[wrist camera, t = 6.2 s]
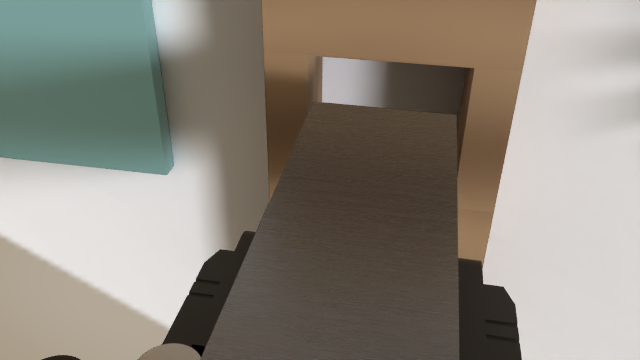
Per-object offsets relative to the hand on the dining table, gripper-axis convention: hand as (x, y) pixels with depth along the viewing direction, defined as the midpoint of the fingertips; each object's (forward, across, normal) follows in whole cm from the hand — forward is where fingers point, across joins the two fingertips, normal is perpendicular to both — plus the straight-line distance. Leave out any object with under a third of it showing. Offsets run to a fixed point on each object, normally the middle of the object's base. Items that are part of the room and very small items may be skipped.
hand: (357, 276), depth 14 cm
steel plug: (+5, 0, 0) cm, 5 cm away
